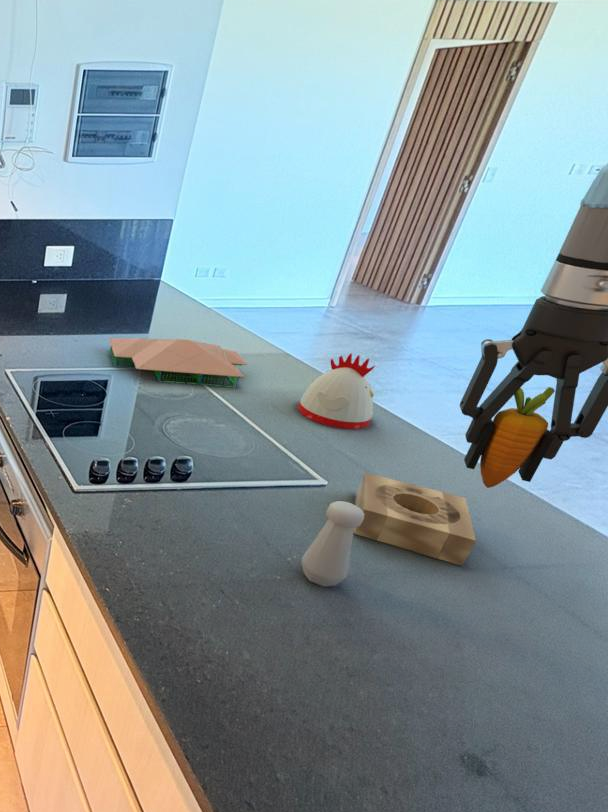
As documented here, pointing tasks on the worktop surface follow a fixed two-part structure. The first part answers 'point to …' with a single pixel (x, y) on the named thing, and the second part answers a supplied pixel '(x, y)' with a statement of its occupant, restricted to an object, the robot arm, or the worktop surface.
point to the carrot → (513, 438)
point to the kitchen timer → (340, 396)
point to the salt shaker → (333, 545)
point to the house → (178, 357)
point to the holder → (415, 518)
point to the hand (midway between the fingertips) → (496, 470)
